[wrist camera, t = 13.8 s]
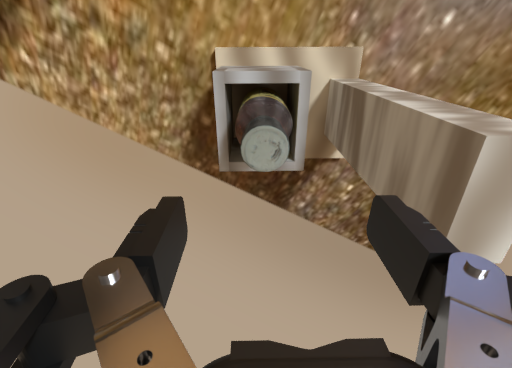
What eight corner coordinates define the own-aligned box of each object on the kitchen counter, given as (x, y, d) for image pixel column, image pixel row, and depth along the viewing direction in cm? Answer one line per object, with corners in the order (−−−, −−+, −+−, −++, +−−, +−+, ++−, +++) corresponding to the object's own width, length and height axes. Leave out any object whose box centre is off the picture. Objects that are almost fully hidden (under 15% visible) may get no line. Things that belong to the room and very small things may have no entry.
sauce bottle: (291, 112, 40) (323, 163, 22) (257, 136, 41) (261, 202, 24) (266, 74, 37) (279, 96, 19) (230, 101, 39) (213, 145, 21)
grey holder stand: (223, 155, 44) (181, 312, 18) (216, 47, 37) (128, 41, 11) (343, 154, 44) (476, 307, 18) (359, 46, 37) (621, 39, 11)
